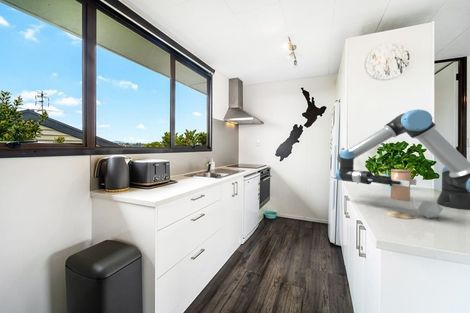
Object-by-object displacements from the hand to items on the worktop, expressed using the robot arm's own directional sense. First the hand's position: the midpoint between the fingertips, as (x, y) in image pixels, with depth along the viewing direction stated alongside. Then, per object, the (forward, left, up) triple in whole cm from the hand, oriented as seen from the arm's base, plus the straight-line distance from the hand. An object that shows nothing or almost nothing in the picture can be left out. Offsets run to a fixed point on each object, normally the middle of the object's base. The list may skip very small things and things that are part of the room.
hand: (412, 183), depth 95 cm
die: (-8, -7, -18) cm, 21 cm away
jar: (+4, -2, -9) cm, 10 cm away
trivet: (+4, -2, -18) cm, 18 cm away
